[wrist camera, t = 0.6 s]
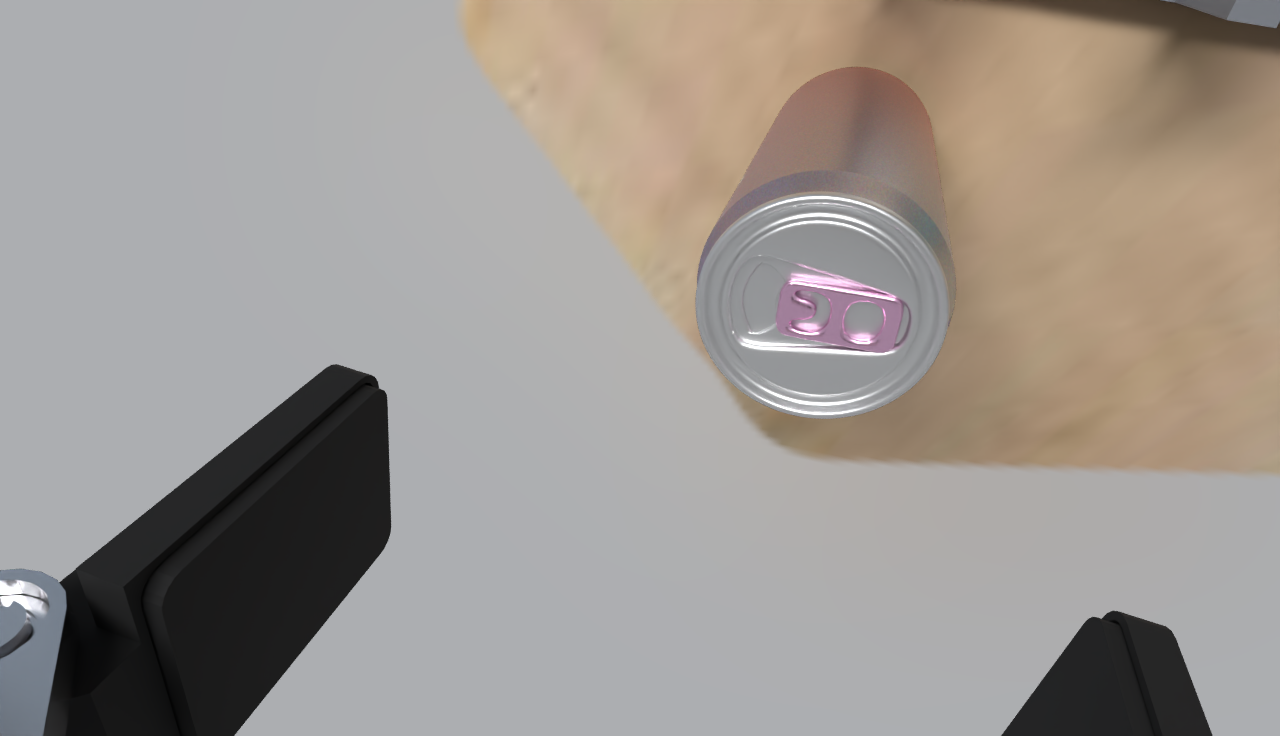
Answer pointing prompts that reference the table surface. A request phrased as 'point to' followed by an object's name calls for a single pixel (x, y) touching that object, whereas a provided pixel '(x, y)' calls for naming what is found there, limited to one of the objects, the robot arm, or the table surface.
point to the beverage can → (832, 253)
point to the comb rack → (1239, 10)
